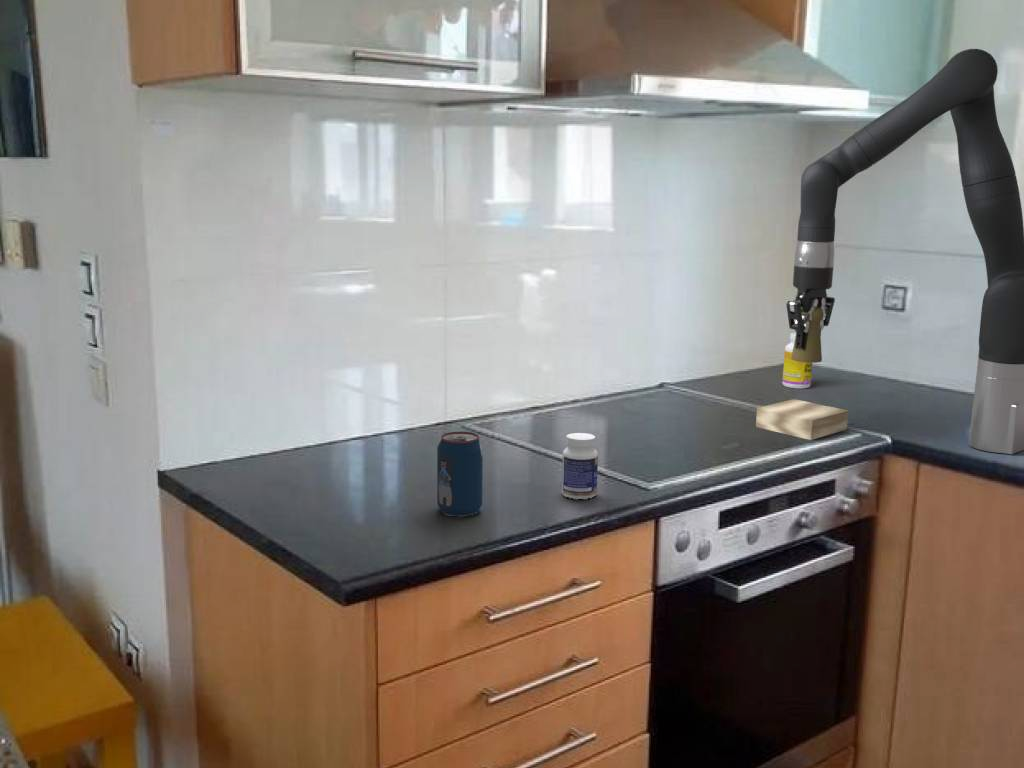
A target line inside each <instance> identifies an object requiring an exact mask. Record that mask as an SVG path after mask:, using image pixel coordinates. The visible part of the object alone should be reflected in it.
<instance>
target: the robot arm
mask: <svg viewBox="0 0 1024 768" xmlns="http://www.w3.org/2000/svg"><path fill="white" fill-rule="evenodd" d="M998 71H999V69H998V63H997V61H996V59H995V57H993V55H992V54H991V53H989V52H988V51H986V50H983V49H981V48H969V49H963V50H962V51H960V52H958V53H956V54H954V55H953V56H952V57H951V58H950V60H948V62H947V63H946V64H945V65H944V66H943V67H942V68H941V69H940V70H939V71H938V72H937V73H936V74H935V75H934V76H933V77H932V78H931V79H930V80H928V81H927V82H926V83H925V84H924V85H922V86H921V87H920V88H918V89H917V90H916V91H915V92H914V93H912V94H911V95H909V96H908V97H906V98H905V99H904V100H902V101H901V102H900V103H898V104H897V105H895V106H893V107H892V108H891V109H889V110H888V111H886V112H884V113H883V114H881V115H880V116H878V117H877V118H875V119H874V120H872V121H870V122H869V123H867V125H864V126H863V127H862V128H861V129H859V130H857V131H856V132H855V133H853V134H852V135H851V136H849V137H847V138H846V139H845V140H844V141H843V142H842V143H841V144H839V146H837V147H836V148H834V149H832V150H831V151H829V152H828V153H826V154H825V155H823V156H822V157H820V158H819V159H817V160H815V161H814V162H812V163H811V164H809V165H807V166H806V167H805V169H804V170H803V172H802V174H801V180H800V213H799V214H800V215H799V218H798V227H797V238H796V239H797V241H796V246H795V251H794V261H793V262H794V263H793V264H794V265H793V277H792V285H793V287H794V288H796V289H797V293H796V296H795V299H793V301H791V300H788V301H786V311H787V318H788V326H789V329H791V330H794V332H795V333H796V344H795V346H796V347H795V348H796V349H797V348H803V351H804V350H805V349H806V342H807V336H808V333H807V332H808V329H809V324H810V321H812V313H813V311H814V309H815V308H816V307H820V308H821V309H822V310H823V319H822V320H821V322H820V336H821V337H822V331H823V330H824V327H828V326H829V324H830V321H831V317H832V312H833V309H834V305H835V301H836V300H835V297H832V296H828V294H827V290H829V289H831V288H833V279H834V278H833V277H834V276H833V275H834V266H835V265H834V264H835V263H834V262H835V234H836V215H835V214H836V207H837V199H838V192H839V191H838V190H839V188H840V187H841V186H843V185H845V184H846V183H847V182H849V181H850V180H851V179H852V178H854V177H855V176H856V175H858V174H859V173H862V172H863V171H865V170H868V169H869V168H871V167H872V166H873V165H875V164H877V163H878V162H880V161H881V160H882V159H884V158H886V157H887V156H888V155H890V154H892V153H893V152H894V151H895V150H897V149H898V148H899V147H901V146H902V145H904V144H905V143H906V142H907V141H908V140H910V139H911V138H912V137H914V135H916V134H917V133H918V132H919V131H921V130H922V129H924V127H926V126H927V125H929V124H931V122H933V121H934V120H936V119H938V118H940V117H941V116H943V115H944V114H946V113H948V112H949V111H950V115H951V119H952V122H953V126H954V128H955V129H954V130H955V134H956V141H957V153H958V155H957V156H958V164H959V165H958V166H959V172H960V180H961V186H962V192H963V196H964V201H965V202H964V203H965V205H966V209H967V214H968V217H969V219H970V223H971V224H972V228H973V230H974V232H975V235H976V237H977V240H978V242H979V244H980V246H981V249H982V253H983V257H984V262H985V269H986V270H985V271H986V278H987V279H986V280H987V288H986V290H985V292H984V295H983V298H982V302H981V303H982V305H981V310H980V311H981V312H980V320H979V321H980V323H979V324H980V325H979V334H978V357H977V358H978V359H977V366H976V375H975V382H974V383H975V384H974V392H973V393H974V394H973V400H972V401H973V402H972V411H971V419H970V428H969V429H970V430H969V437H968V446H970V447H972V448H974V449H976V450H980V451H983V452H991V453H996V454H1008V455H1014V454H1016V453H1019V452H1022V451H1024V219H1023V209H1022V207H1023V206H1022V201H1021V196H1020V188H1019V184H1018V179H1017V175H1016V174H1017V173H1016V170H1015V166H1014V162H1013V160H1012V157H1011V153H1010V151H1009V149H1008V146H1007V143H1006V141H1005V139H1004V136H1003V134H1002V132H1001V129H1000V126H999V122H998V119H997V118H998V117H997V111H996V110H997V109H996V103H995V101H996V100H995V91H994V89H995V88H994V86H995V84H996V81H997V79H998V73H999V72H998ZM802 312H805V313H807V312H809V313H808V316H806V317H805V316H802ZM803 320H804V321H805V322H804V326H803Z"/></svg>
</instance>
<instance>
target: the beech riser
mask: <svg viewBox="0 0 1024 768" xmlns="http://www.w3.org/2000/svg"><path fill="white" fill-rule="evenodd" d="M755 419H756V421H755V427H756V428H758V429H763V430H767V431H771V432H777V433H780V434H784V435H788V436H791V437H792V436H793V437H797V438H801V439H804V440H805V439H806V440H809V441H812V440H816V439H819V438H822V437H826V436H830V435H832V434H833V435H834V434H836V433H839V432H844V431H847V428H848V421H849V420H848V419H849V410H848V409H843V408H839V407H838V408H837V407H832V406H828V405H824V404H823V405H822V404H819V403H815V402H809V401H806V400H805V401H804V400H801V399H795V398H794V399H793V398H792V399H788V400H784V401H780V402H776V403H773V404H768V405H763V406H759V407H757V408H756V418H755Z"/></svg>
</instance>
